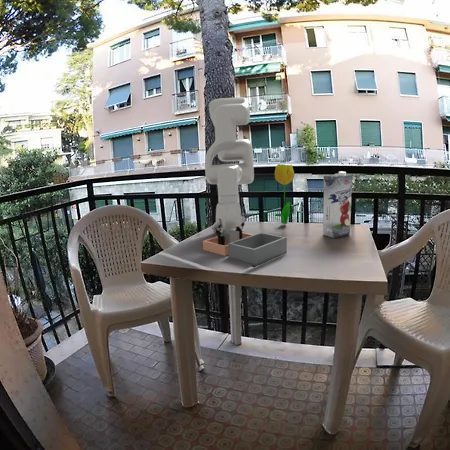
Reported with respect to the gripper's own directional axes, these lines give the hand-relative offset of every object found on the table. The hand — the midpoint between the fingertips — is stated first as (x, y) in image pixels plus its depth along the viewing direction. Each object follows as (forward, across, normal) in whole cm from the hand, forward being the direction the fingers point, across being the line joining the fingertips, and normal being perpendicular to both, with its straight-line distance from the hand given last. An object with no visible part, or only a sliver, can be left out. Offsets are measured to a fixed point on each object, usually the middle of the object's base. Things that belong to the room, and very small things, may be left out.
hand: (230, 242), depth 125 cm
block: (+2, 0, 0) cm, 2 cm away
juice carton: (+3, -41, +23) cm, 47 cm away
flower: (+3, -43, -5) cm, 43 cm away
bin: (+3, 0, +14) cm, 14 cm away
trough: (+3, 0, 0) cm, 3 cm away
